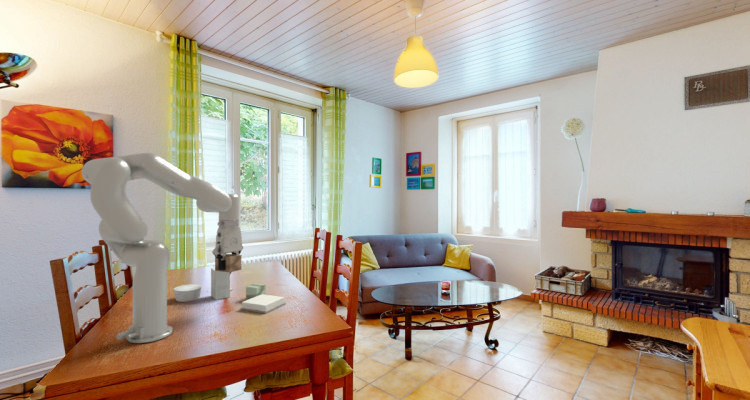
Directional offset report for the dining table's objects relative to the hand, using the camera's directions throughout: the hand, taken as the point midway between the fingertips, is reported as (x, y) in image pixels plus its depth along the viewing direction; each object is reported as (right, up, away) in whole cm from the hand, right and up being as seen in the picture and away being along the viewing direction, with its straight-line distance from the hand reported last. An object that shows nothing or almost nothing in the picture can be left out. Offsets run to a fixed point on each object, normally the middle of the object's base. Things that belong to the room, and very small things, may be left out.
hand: (228, 267), depth 139 cm
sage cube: (+6, -17, +15) cm, 24 cm away
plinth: (+13, -17, +4) cm, 22 cm away
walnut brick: (0, -1, 0) cm, 1 cm away
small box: (-11, -17, +18) cm, 27 cm away
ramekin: (-24, -17, +14) cm, 33 cm away
